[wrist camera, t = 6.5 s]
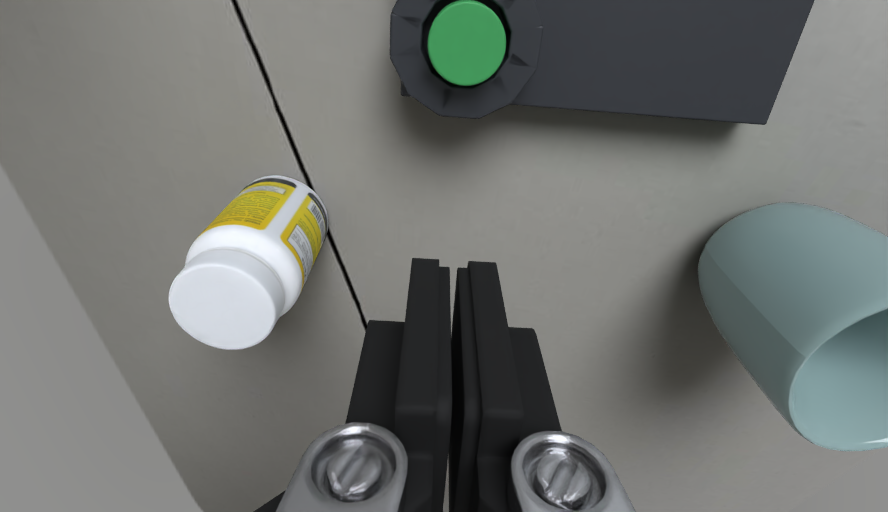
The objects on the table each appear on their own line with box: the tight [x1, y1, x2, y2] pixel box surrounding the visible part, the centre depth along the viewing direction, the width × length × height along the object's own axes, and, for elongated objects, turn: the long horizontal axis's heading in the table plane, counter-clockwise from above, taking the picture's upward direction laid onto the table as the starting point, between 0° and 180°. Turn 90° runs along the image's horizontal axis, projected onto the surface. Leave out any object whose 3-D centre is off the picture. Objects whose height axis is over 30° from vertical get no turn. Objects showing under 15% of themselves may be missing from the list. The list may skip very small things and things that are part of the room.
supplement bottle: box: [169, 175, 328, 350], centre depth 22 cm, size 5×5×8 cm
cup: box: [698, 202, 888, 451], centre depth 22 cm, size 8×8×10 cm
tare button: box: [428, 0, 506, 86], centre depth 18 cm, size 3×3×2 cm
